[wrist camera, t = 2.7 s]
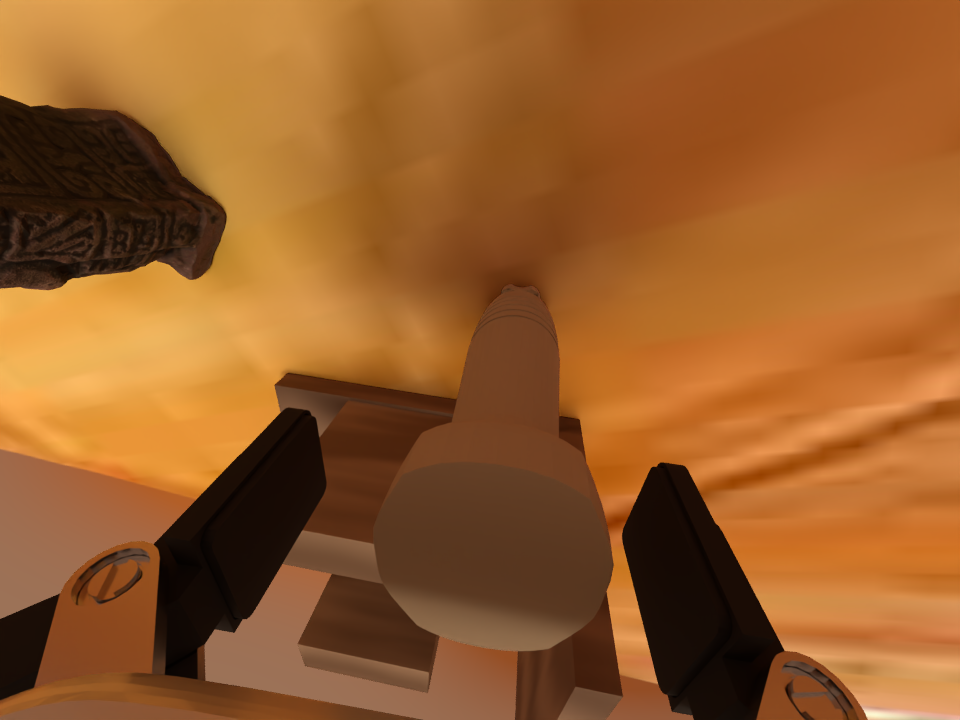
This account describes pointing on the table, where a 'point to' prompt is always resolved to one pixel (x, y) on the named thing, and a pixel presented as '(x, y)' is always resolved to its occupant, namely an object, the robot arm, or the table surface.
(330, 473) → the wooden stand
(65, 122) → the statue
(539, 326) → the handle
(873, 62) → the table surface
